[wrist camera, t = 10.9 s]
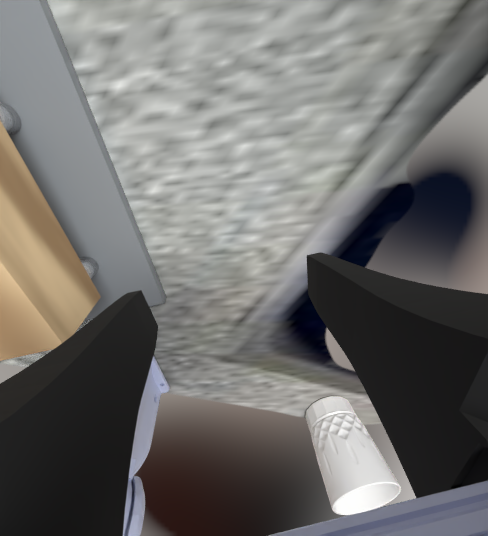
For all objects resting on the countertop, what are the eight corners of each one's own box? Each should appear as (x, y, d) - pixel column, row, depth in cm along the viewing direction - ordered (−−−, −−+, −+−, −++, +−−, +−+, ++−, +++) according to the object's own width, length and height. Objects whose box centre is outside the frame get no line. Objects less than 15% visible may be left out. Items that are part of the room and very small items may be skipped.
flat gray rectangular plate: (166, 296, 22) (160, 317, 19) (48, 321, 22) (26, 346, 19) (44, -6, 12) (-1, -47, 10) (-172, 29, 12) (-279, -4, 9)
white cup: (352, 386, 33) (405, 475, 24) (352, 417, 36) (397, 503, 28) (298, 401, 33) (330, 495, 24) (303, 430, 36) (333, 521, 28)
